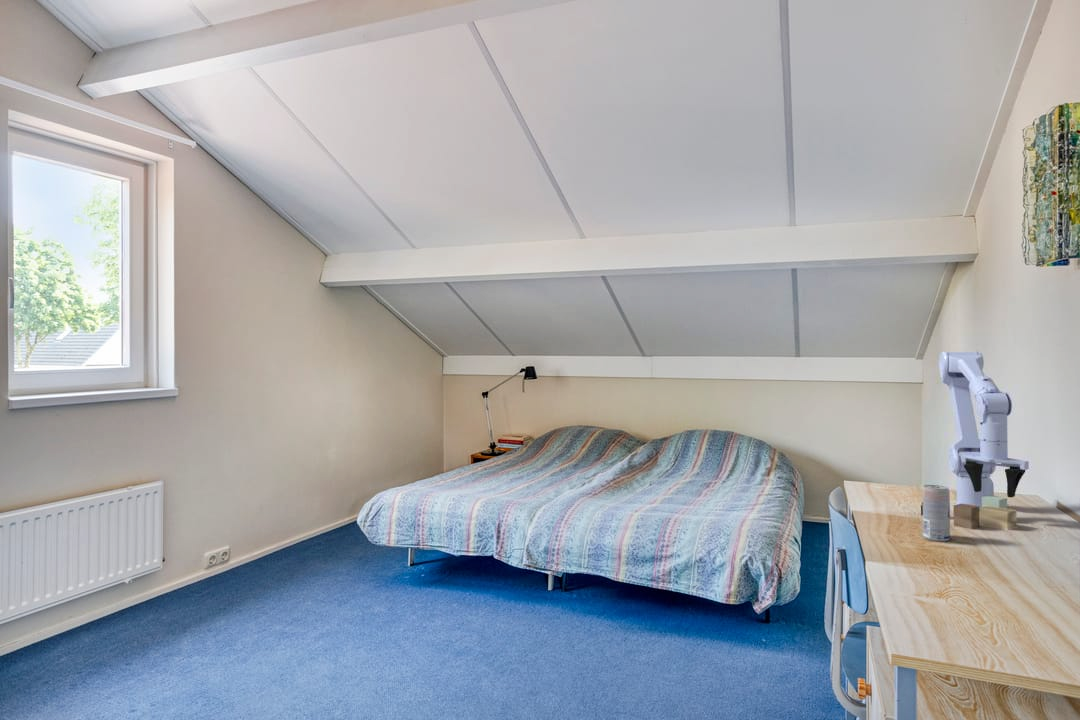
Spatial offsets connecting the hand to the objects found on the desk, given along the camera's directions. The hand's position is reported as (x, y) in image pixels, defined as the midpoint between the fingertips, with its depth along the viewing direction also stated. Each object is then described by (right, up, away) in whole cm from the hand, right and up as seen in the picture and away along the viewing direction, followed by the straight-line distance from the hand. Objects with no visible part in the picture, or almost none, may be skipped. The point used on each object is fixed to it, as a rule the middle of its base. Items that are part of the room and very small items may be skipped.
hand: (994, 494), depth 168 cm
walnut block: (-11, -7, -6) cm, 14 cm away
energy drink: (-24, -8, -15) cm, 29 cm away
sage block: (0, -6, 0) cm, 6 cm away
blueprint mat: (-2, -7, -3) cm, 8 cm away
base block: (-3, -6, -6) cm, 9 cm away
